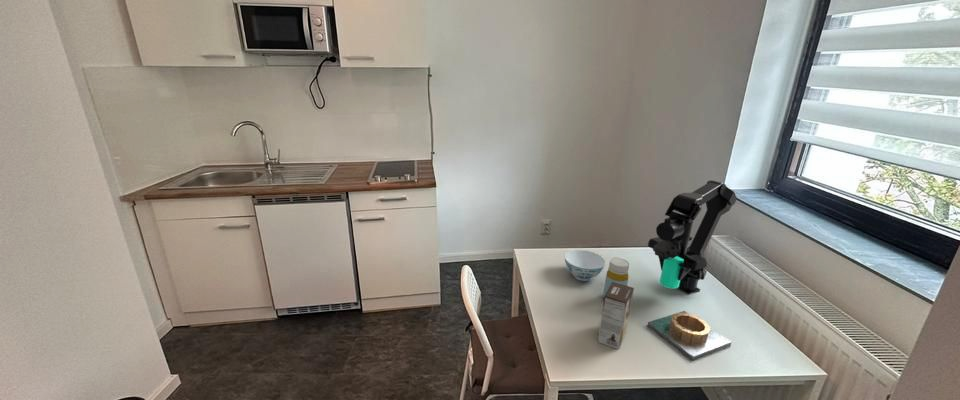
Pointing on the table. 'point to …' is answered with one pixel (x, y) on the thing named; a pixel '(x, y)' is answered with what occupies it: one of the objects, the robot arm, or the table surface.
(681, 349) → the square plate with hole
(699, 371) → the table surface
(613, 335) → the coffee box
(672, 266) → the candle
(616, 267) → the bottle
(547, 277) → the table surface
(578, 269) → the chinaware
